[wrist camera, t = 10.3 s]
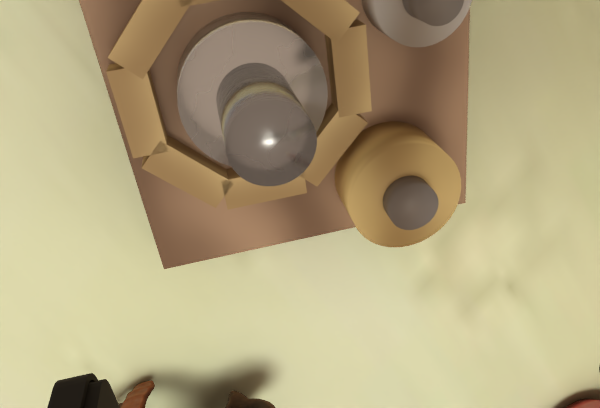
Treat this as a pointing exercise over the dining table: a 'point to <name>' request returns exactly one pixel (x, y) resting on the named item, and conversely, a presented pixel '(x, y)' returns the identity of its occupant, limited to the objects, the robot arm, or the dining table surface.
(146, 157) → the carrier board
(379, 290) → the dining table surface
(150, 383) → the brown creature figurine
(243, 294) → the dining table surface
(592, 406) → the liquor
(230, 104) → the knobbed round disc
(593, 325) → the dining table surface
